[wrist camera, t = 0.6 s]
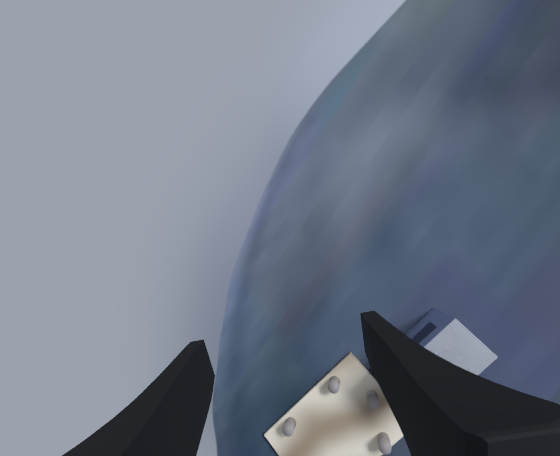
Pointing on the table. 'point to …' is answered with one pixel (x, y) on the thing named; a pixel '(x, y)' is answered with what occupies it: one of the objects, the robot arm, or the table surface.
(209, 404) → the robot arm
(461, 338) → the block
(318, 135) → the table surface
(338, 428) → the birch pin tray
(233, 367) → the table surface
